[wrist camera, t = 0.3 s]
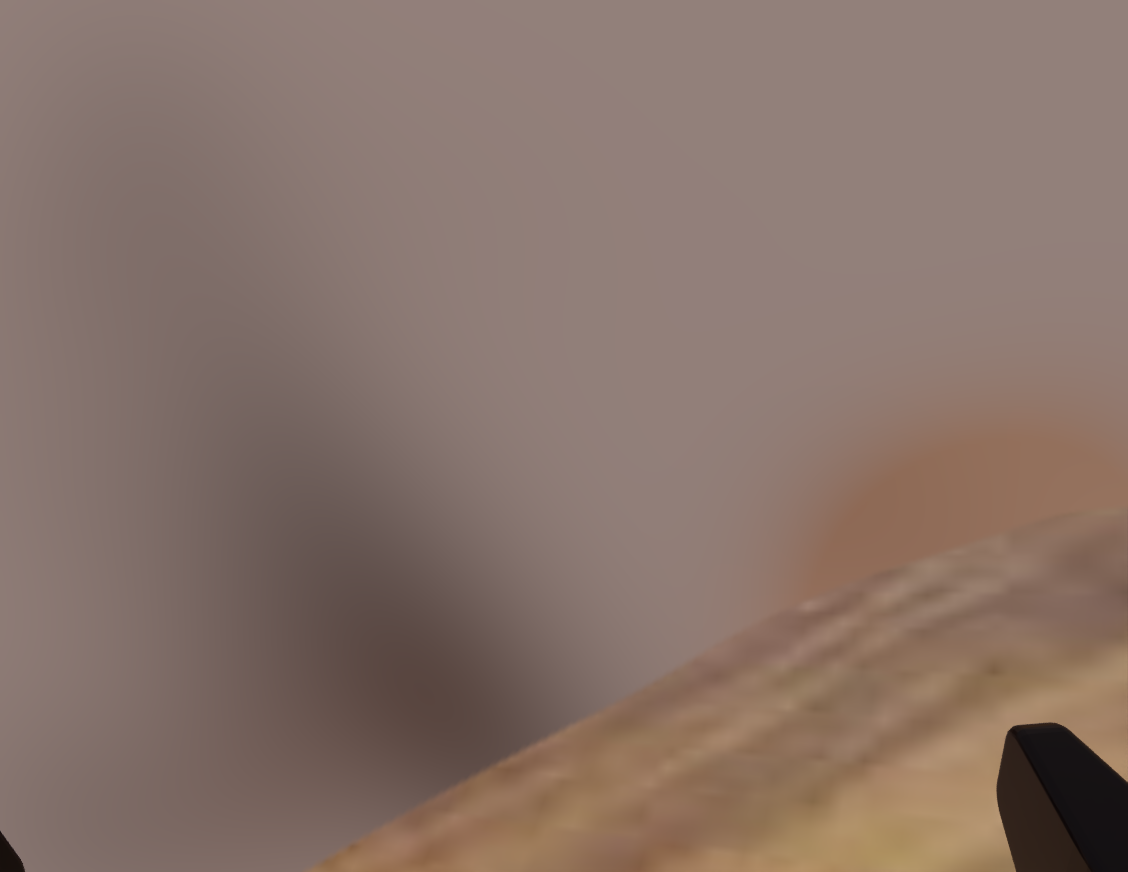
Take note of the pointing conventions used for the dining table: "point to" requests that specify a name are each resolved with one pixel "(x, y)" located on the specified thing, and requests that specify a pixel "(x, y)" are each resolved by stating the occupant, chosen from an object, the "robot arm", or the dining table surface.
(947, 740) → the dining table surface
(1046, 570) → the dining table surface
